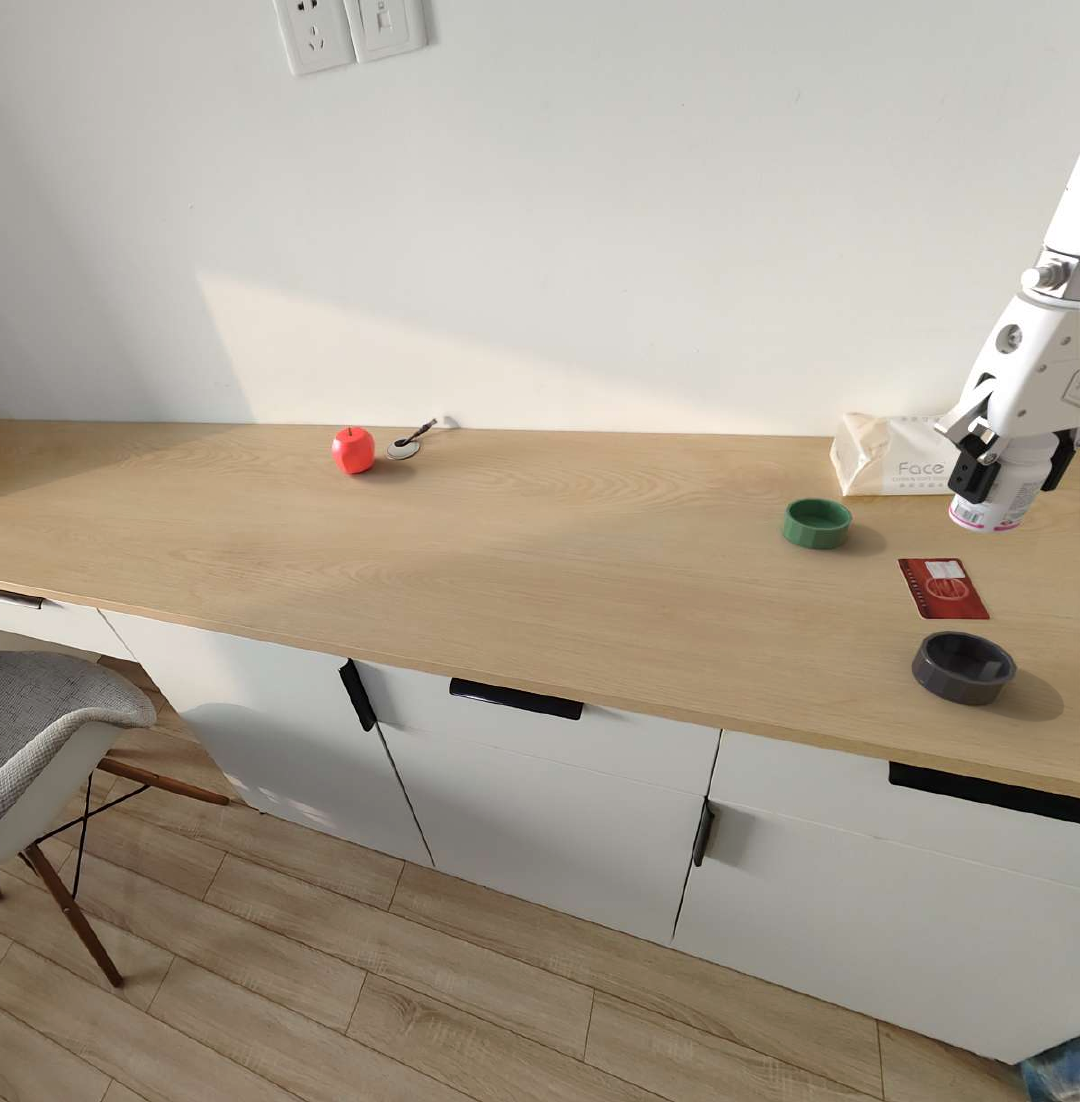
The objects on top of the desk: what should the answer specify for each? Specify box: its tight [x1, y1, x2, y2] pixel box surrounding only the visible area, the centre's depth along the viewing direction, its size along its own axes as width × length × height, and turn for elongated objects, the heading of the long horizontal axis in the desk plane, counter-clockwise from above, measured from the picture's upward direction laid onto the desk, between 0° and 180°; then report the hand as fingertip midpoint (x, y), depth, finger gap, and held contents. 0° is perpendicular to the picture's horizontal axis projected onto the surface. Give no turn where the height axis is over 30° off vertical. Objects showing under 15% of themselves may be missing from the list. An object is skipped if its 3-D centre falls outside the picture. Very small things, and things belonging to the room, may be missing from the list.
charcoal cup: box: [911, 630, 1018, 706], centre depth 63 cm, size 7×7×3 cm
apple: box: [331, 426, 376, 475], centre depth 116 cm, size 8×8×8 cm
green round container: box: [780, 497, 853, 550], centre depth 82 cm, size 7×7×3 cm
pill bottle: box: [948, 431, 1059, 535], centre depth 55 cm, size 5×5×8 cm
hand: (999, 487), depth 56 cm, fingers closed on pill bottle, 4 cm apart
